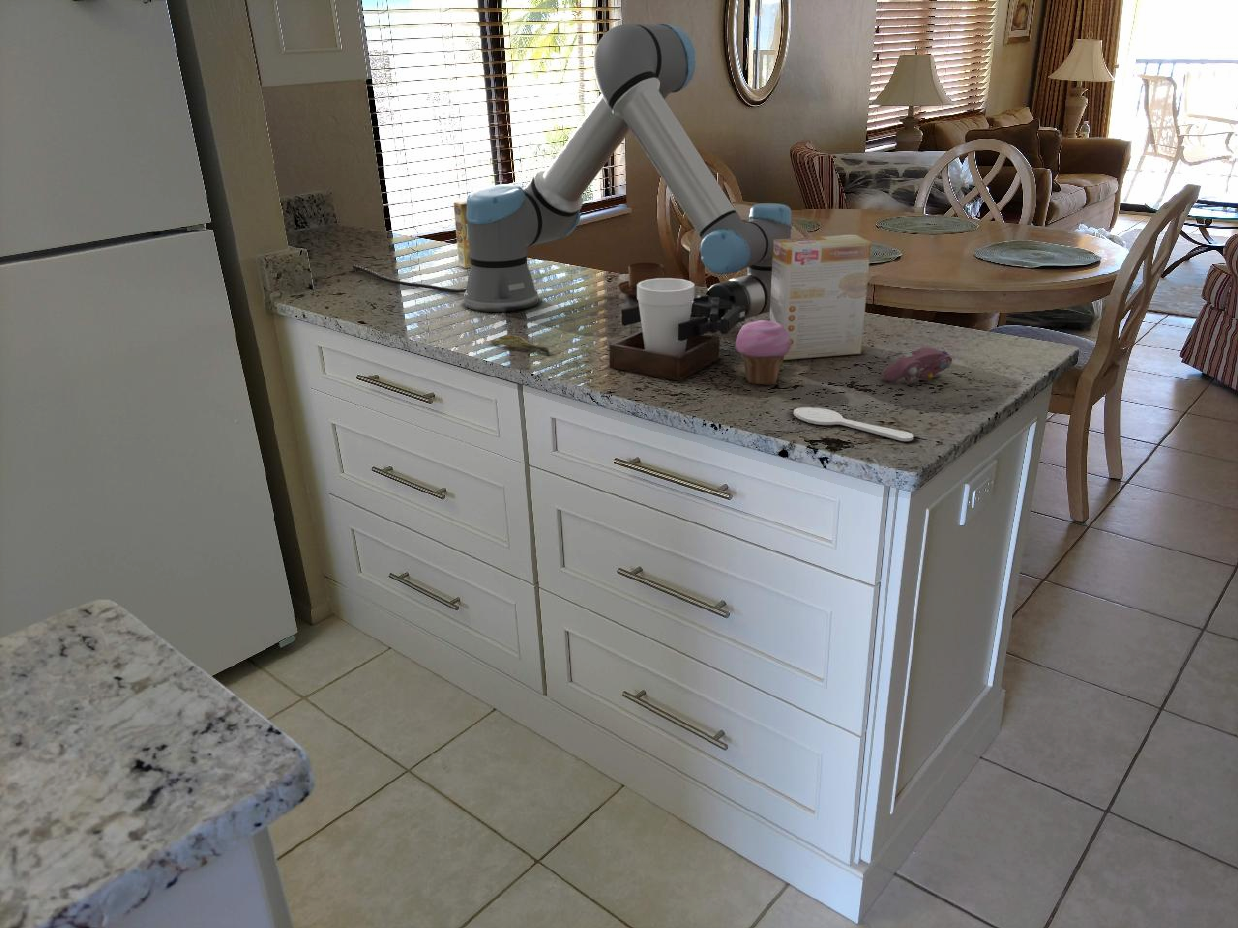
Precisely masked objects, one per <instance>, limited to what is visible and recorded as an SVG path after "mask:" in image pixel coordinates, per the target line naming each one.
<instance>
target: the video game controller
mask: <svg viewBox="0 0 1238 928" xmlns="http://www.w3.org/2000/svg"><path fill="white" fill-rule="evenodd" d="M952 362H953V358H952V356H950V355H949V353H948V352H947V351H946V350H943V349H942V347H941V346H940V347H938V348H934V347H920V348H918V349H915V350H914V351H909V352H906V353H905V354H903V355H901V356H900V357H899V358H898V359H897V360H895V361H894V362H893V363H892V364H890V365H888V366H886V367H885V369H884V370H883V374H882V376H883V377H882V378H883V379H884V381H886V382H895V381H898V380H900V379H904V380H905V382H906V383H907V384H908V385H911V384H914V383H916V382H917V381H918V380H919V378H920V377H921V379H922V380H923V381H925V382H928V381H931V380H932V379H933V378H934V377H935V376H936V375H938V374H939V373H941V372H943V371H945V370H946V369H947V368H949V367H950V365H951V364H952Z"/></svg>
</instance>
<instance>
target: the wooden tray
mask: <svg viewBox="0 0 1238 928" xmlns="http://www.w3.org/2000/svg"><path fill="white" fill-rule="evenodd" d="M720 339H721V336H718V335H713V334H712V335H711V334H707V333H706V334H702V335H699V336H696V337H693V338H690V339H687V343H686V349H685V352H684V353H682V354H681V355H679V356H678V355H672V354H667V353H661V352H656V351H650V350H645V346H644V339H643V331H642V329H640V330H639V331H637V332H634V333H632V334H629V335H628V336H626V337H623V338H621V339H619V340H617V341H614V342H612V343H610V344H609V345H608V346H609V368H611V369H616V370H619V371H621V370H622V371H624V372H625V371H626V372H631V373H637V374H641V375H647V376H652V377H656V378H661V379H667V380H672V381H675V382H681V381H683V380H684V379H686V378H688V377H689V376H692V375H694V374H695V373H698V372H699V371H700V370H702V369H704V368H706V367H708V366H710V365H712V364H713V363H715V362H717V361H719V360H720V342H721V341H720Z"/></svg>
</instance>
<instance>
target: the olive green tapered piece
mask: <svg viewBox="0 0 1238 928" xmlns="http://www.w3.org/2000/svg"><path fill="white" fill-rule="evenodd" d="M490 342H491V343H492V345H499V346H500V345H501V346H506V347H508V348H522V349H525V350H526V349H527V350H533V351H538V352H542V353H546V354H547V355H548V356H550V350H549V349H548V347H545V346H540V345H537V344H534V343H531V342H530V341H528V340H527V339H526V338H524V337H521V336H518V335H514V334H513V335H511V334H510V335H509V334H506V335H504V336H499V339H496V338H493V339H491V340H490Z"/></svg>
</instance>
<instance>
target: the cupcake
mask: <svg viewBox="0 0 1238 928" xmlns="http://www.w3.org/2000/svg"><path fill="white" fill-rule="evenodd" d="M734 347H735V349H736V351H737V352H739V353H740V354H741V358H742V360H743V366H744V374H745V377H746V380H747V381H748V382H749V383H751V384H757V385H766V386H772V385H774V384H776V383H777V380H778V378H779V375H780V371H781V369H782V366H783V362H784V360H783V359H784V355H786V354H787V353H788V352H789V350H790V348H791V341H790V336H789V334H788V332H787V330H786V329H785V328H783V326H782V325H781V324H779V323H776V322H772V321H769V320H766V319H760V320H759V319H758V320H755V321H751V322H746V323H745V324H743V325H742V326H741V328H740V329H739V331H738V333H737V335H736V340H735V346H734Z"/></svg>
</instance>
